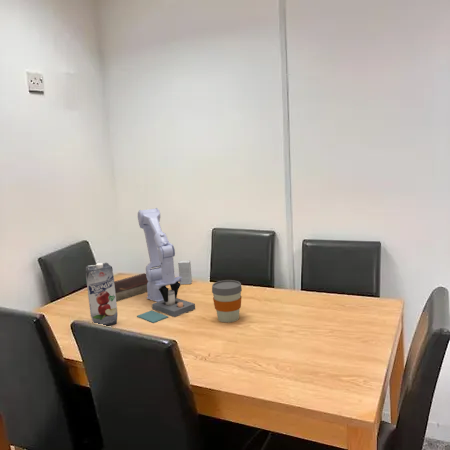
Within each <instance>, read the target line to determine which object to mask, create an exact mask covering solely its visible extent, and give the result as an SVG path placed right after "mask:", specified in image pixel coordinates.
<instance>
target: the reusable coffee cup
mask: <svg viewBox="0 0 450 450" xmlns="http://www.w3.org/2000/svg"><path fill="white" fill-rule="evenodd" d="M211 285H212V286H211V293H212V295H213V296H212V297H213V298H212V300H213V305H214V309H215V312H216V314H217V320H218V321H219V322H221V323H233V322H236V321H238V320H239V319H240V310H241V307H242V297H243V296H242V295H241V293H242V289H243V288H242V283H241V282H240V281H239V280H234V279H233V280H232V279H225V280H219V281H218V280H217V281H216V282H214V283H212V284H211Z"/></svg>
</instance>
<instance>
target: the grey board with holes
mask: <svg viewBox="0 0 450 450" xmlns="http://www.w3.org/2000/svg"><path fill="white" fill-rule="evenodd" d="M178 302H183V307H181V308H179V307H178ZM151 308H152V311H155V312H158V313H161V314H164V315H167V316H170V317H171V316H172V318H173V317H174V318H176V317H178V316H181V315H183V314H185V313H189V312H191V311H194V310H196V303H193V302H191V301H187V300H184V299H181V298H178V297H177V298H176V299H175V304H174V305H171V306H167V305H166V302H165V301H164V300H162V301H159V302H156V301H155V302H153V303H152V304H151Z"/></svg>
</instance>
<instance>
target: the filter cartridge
mask: <svg viewBox="0 0 450 450" xmlns="http://www.w3.org/2000/svg"><path fill="white" fill-rule="evenodd" d="M174 304H175V291H174V290H171V289H169V290H168V302H166V305H167V306H171V305H174Z"/></svg>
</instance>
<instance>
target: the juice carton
mask: <svg viewBox="0 0 450 450" xmlns="http://www.w3.org/2000/svg"><path fill="white" fill-rule="evenodd" d="M85 279H86V286H87V287H86V288H87V298H88V304H89V313H90V318H91V320H92V323H93V322H94V323H98V324H103V325H108V326H112V325H116V324H117V321H118V305H117V302H116V294H115V284H114V282H115V278H114V272H113V266H111V265H110V264H109V263H108V262H97V263H96V264H91V265H87V266H85ZM94 323H93V324H94Z"/></svg>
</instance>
